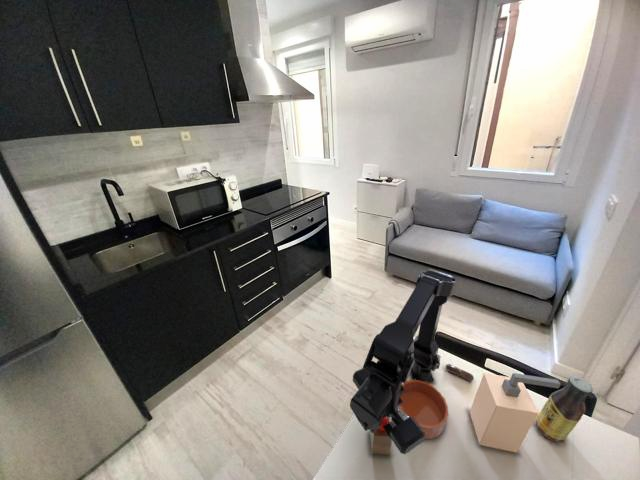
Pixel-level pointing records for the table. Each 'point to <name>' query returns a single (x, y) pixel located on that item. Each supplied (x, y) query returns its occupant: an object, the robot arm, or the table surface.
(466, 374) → the brown bumpy bar
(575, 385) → the sauce bottle
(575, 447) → the table surface
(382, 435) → the wooden stand
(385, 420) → the tomato
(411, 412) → the bowl
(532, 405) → the soap dispenser
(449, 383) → the table surface
